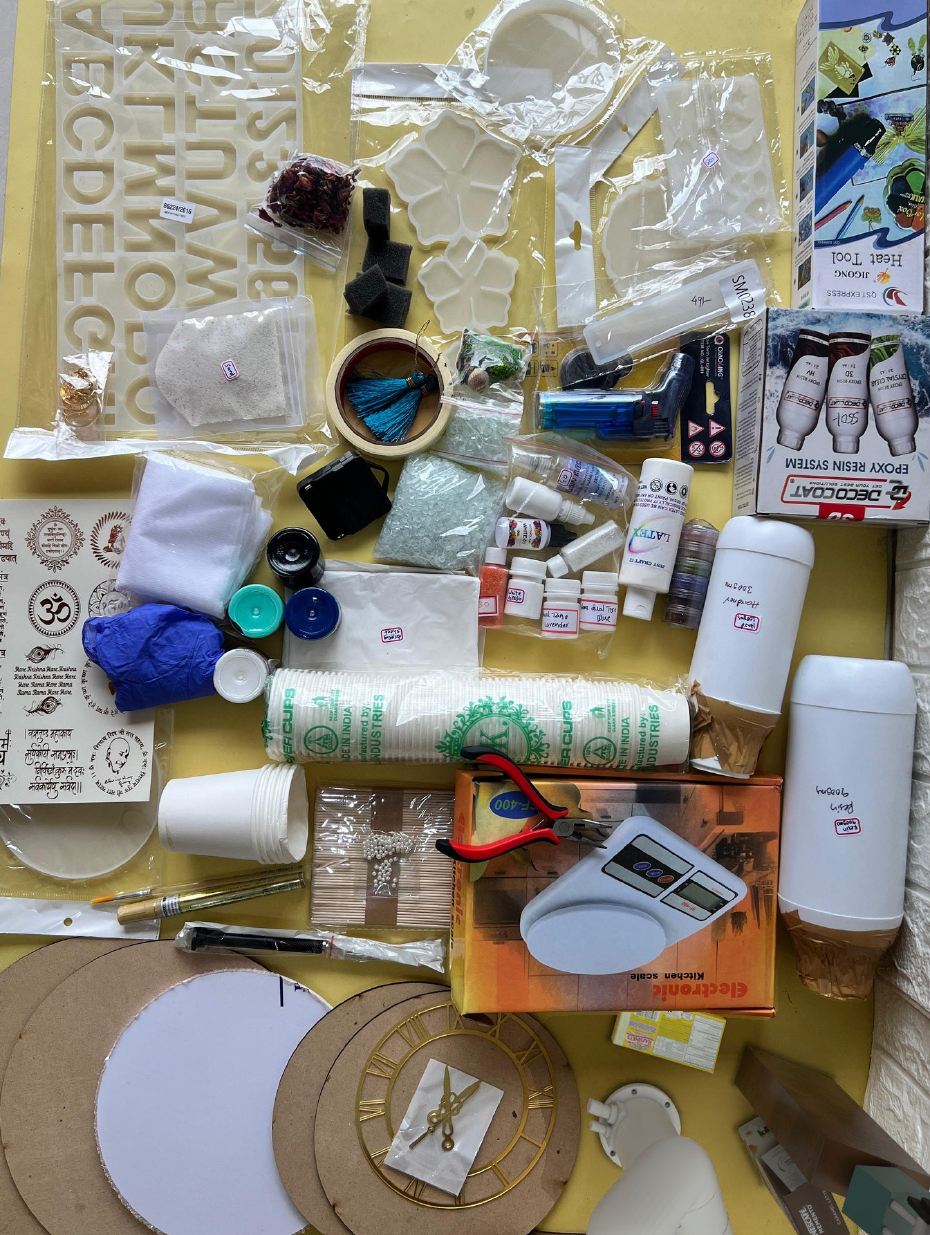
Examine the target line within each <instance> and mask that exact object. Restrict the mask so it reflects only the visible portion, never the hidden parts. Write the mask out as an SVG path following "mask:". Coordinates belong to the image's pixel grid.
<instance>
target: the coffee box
mask: <svg viewBox="0 0 930 1235" xmlns="http://www.w3.org/2000/svg"><path fill="white" fill-rule="evenodd" d="M737 1131H738V1133H739V1136H740V1137H741V1139H742V1141H743V1143H744V1146H745V1148H746V1150H747V1152H748V1155H749V1156H750V1158H751V1161H752V1162H753V1164H754V1167H755V1169H756V1171H757V1173H758V1175H759V1177H760V1179H761V1181H762V1183H763V1185H764V1186H765V1188H766V1189H767V1191H768V1192H769V1194H770V1195H771V1197H772V1198H773V1200H774V1201H775V1202H776V1204H777V1206H778V1208H779V1209H780V1211H781V1212H782V1214H783V1215H784V1216H785V1218H786V1219H787V1221H788V1222H789V1225H791V1227H792V1229H793V1230H794V1232H795V1234H796V1235H851V1231H850V1229H849V1227H848V1225H847V1222H846V1221H845V1218H844V1216H843V1213H842V1212H841V1209H840V1208H839V1206H838V1204H837V1202H836V1200H835V1197H834V1195H833V1193H832V1192H829V1191H827V1190H824V1189H822V1188H819V1187H817V1186H814V1185H811V1184H810V1183H809V1182H808V1180H807V1179H806V1178H805V1176H804V1175H803V1174H802V1172H801V1171H800V1170H799V1168H798V1167H797V1166H796V1164H795V1163H794V1162H793V1160H792V1159H791V1158H790V1156H789V1155H788V1154H787V1152H786V1151H785V1150H784V1148H783V1147H782V1146H781V1144H780V1143H779V1142H778V1140H777V1139H776V1138H775V1136H774V1135H773V1134H772V1132H771V1131H770V1130H769V1128H768V1127H767V1126H766V1125H765V1123H764V1122H763V1121H762V1119H761V1118H760V1117H759V1115H757V1117H755V1118H753V1119H751V1120H749V1121H748V1122H745V1123H744V1124H743V1125H741V1126H739V1127H738V1129H737Z"/></svg>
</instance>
